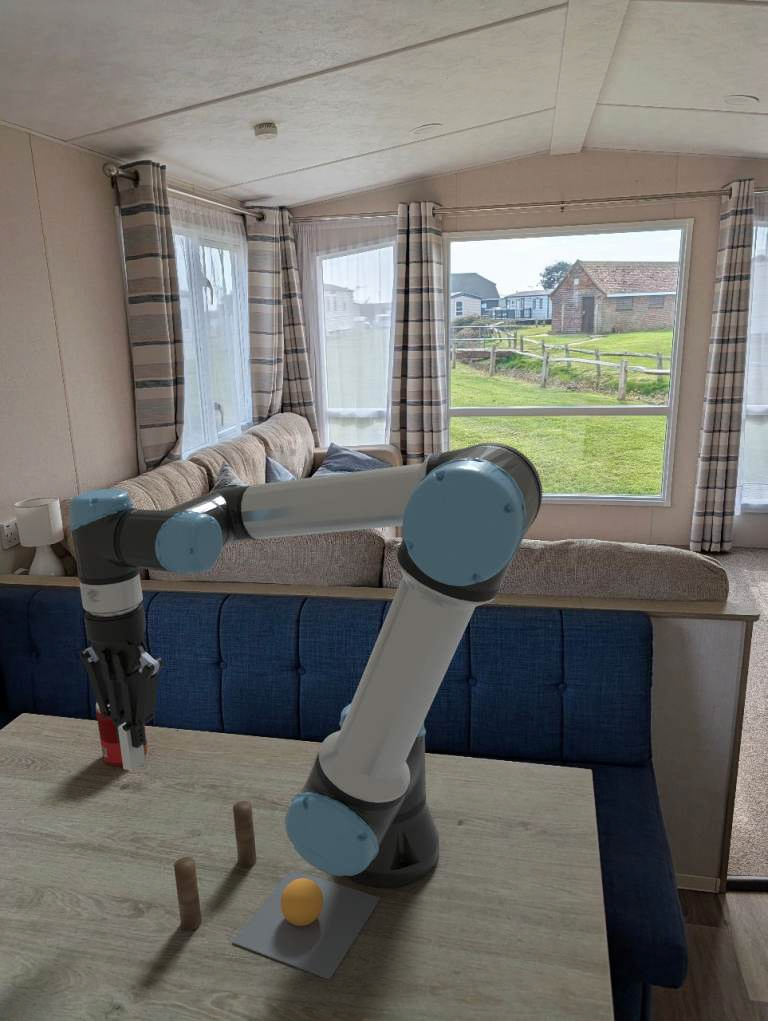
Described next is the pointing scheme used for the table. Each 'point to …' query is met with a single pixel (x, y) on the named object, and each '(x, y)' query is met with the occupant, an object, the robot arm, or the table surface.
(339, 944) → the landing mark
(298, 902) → the ball
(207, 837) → the table surface
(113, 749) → the canned food
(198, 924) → the front post
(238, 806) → the post
